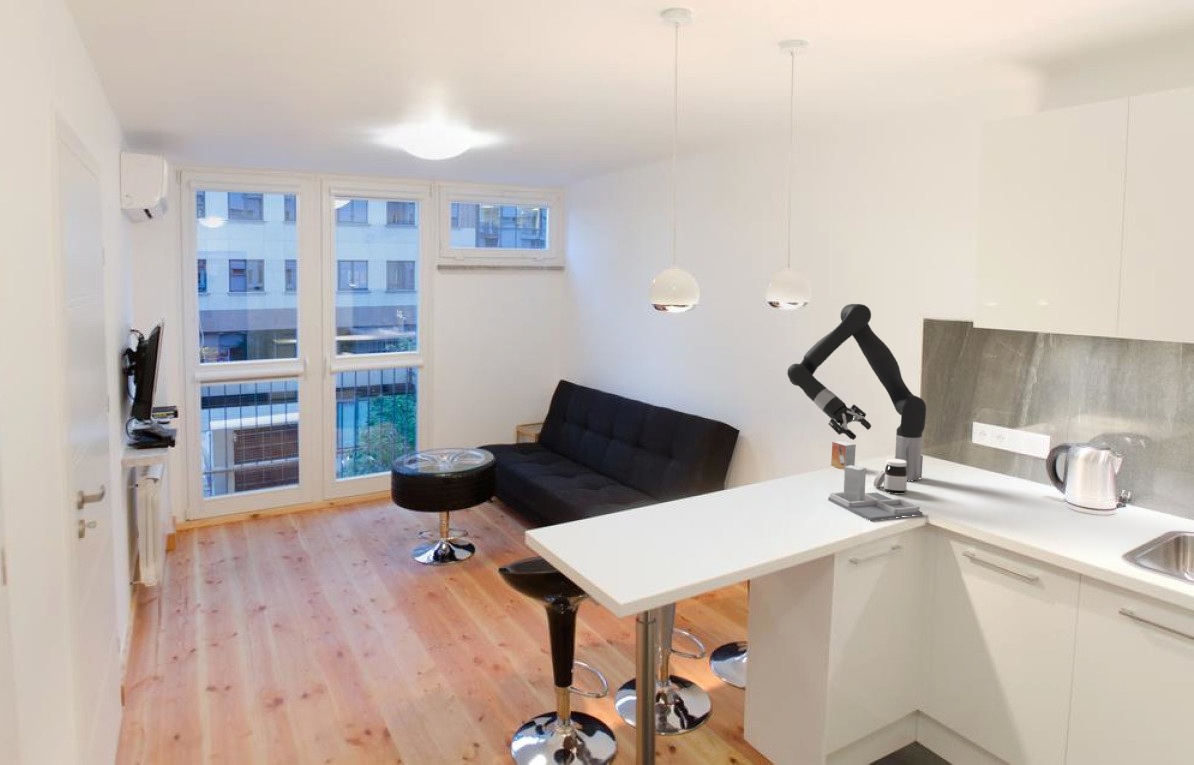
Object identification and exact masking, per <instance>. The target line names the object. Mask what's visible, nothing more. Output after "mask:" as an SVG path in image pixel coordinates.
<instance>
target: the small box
mask: <svg viewBox="0 0 1194 765" xmlns="http://www.w3.org/2000/svg"><path fill="white" fill-rule="evenodd" d="M830 459H831V463H830V466H831V467H834V468H837V469H840V470H842V469H844V470H843V471H845V467H846V466H849V465H852V466H856V464H855V463H856V444H855V443H850V442H848V441H847V442H846V441H844V440H837V441H832V445H831V458H830Z"/></svg>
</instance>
